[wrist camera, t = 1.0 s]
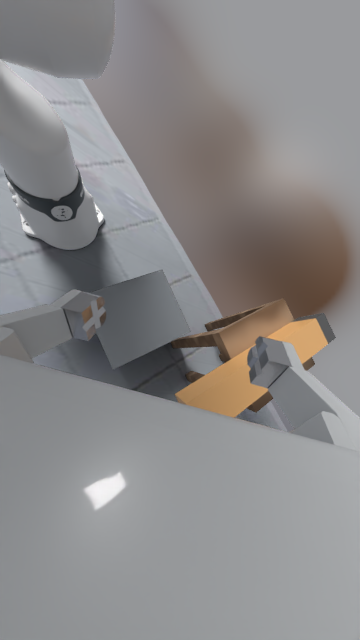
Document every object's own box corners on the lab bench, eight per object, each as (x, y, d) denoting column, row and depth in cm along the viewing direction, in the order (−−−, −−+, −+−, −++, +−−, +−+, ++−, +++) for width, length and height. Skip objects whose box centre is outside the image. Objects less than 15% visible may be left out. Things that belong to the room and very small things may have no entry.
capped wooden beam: (174, 394, 21) (186, 403, 17) (297, 317, 29) (323, 312, 25) (188, 425, 20) (203, 441, 17) (308, 339, 29) (335, 337, 25)
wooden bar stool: (170, 341, 48) (218, 332, 24) (209, 322, 53) (283, 298, 29) (188, 381, 48) (256, 412, 24) (226, 357, 53) (315, 364, 28)
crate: (93, 312, 43) (79, 295, 30) (151, 291, 49) (162, 269, 35) (115, 363, 43) (112, 370, 29) (171, 336, 49) (190, 331, 35)
